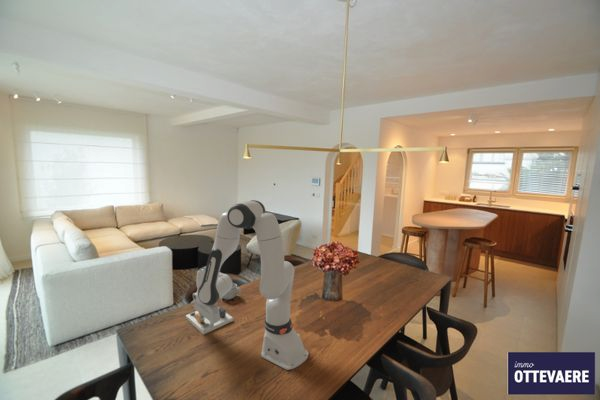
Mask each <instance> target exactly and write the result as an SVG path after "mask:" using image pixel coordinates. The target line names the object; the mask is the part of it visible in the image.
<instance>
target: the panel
mask: <svg viewBox="0 0 600 400" xmlns="http://www.w3.org/2000/svg"><path fill="white" fill-rule="evenodd" d="M218 308H220V306H218ZM196 313H199V312H198V311H197V310H195V311H192V312H189V313H188V314H186V315H185V320H187V322H189V323H190V324H191V325H192V326H193V327H194V328H195V329H197V330H198V332H200V333H201V334H202V335H204V336H205V334H208V333H210V332H212V331H214V330H217V329H219V328H221V327H223V326H225V325H227V324H229V323H231V322H233V321H234V317H233V316H231V315H230V313H227V312H226V316H224V317H222V318H221V317H220V320H219V321H218V322H216V323H214V327H213V328H210V327H209V324H210V321H209V320H208V319H207V318H205V319H204V321H203V322H201V323H199V322H198V321H197V320H196Z"/></svg>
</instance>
